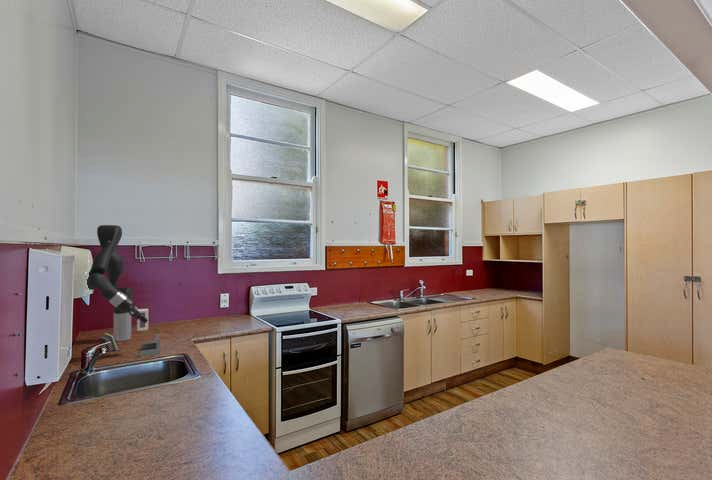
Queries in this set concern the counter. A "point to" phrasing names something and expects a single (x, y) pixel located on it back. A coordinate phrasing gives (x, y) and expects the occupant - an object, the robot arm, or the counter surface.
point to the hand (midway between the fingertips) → (146, 320)
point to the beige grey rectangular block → (141, 324)
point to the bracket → (151, 345)
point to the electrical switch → (108, 338)
